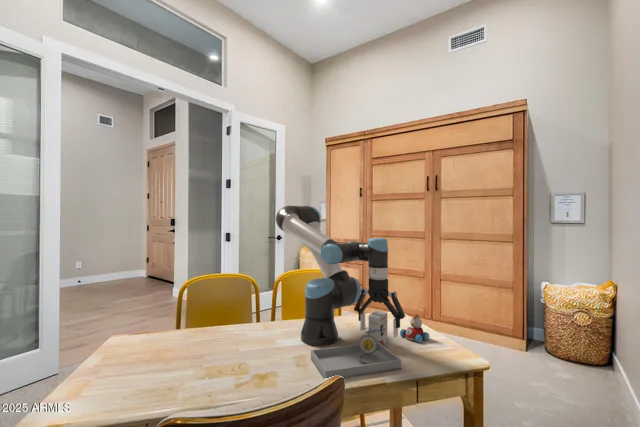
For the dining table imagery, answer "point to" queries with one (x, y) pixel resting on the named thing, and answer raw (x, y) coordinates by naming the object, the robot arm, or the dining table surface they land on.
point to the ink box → (378, 326)
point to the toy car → (415, 330)
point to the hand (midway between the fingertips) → (378, 332)
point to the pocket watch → (367, 356)
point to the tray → (352, 361)
